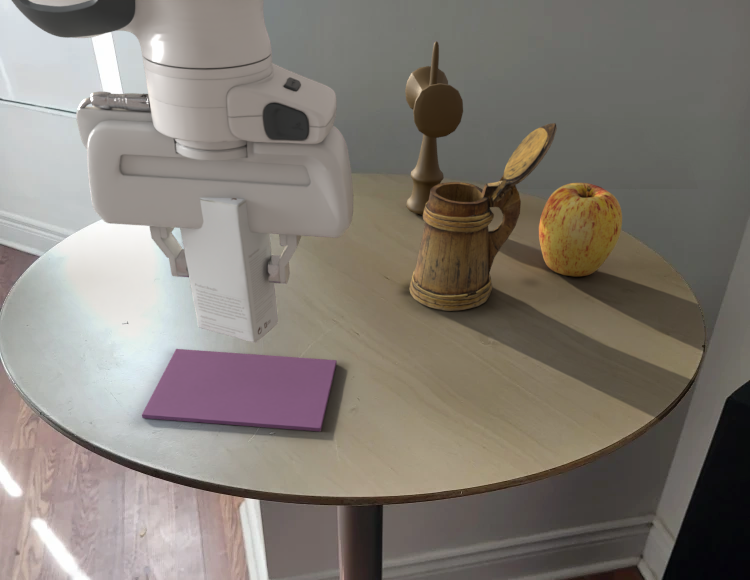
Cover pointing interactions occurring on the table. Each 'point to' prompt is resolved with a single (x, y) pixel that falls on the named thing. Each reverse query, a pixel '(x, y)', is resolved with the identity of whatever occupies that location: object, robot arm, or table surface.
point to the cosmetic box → (230, 272)
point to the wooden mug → (471, 231)
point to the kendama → (430, 125)
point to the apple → (579, 228)
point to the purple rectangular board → (243, 390)
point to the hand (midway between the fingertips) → (231, 277)
